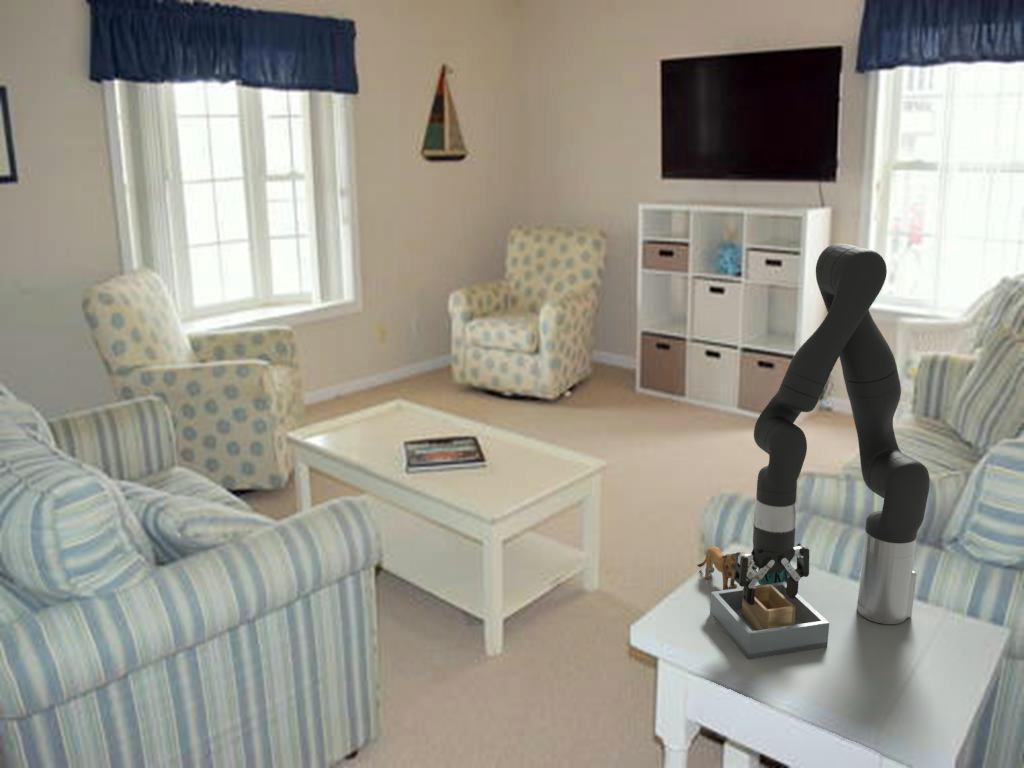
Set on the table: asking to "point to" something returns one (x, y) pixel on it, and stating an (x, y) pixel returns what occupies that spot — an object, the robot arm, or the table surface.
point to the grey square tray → (773, 641)
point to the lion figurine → (721, 565)
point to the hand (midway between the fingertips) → (770, 599)
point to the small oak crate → (768, 609)
